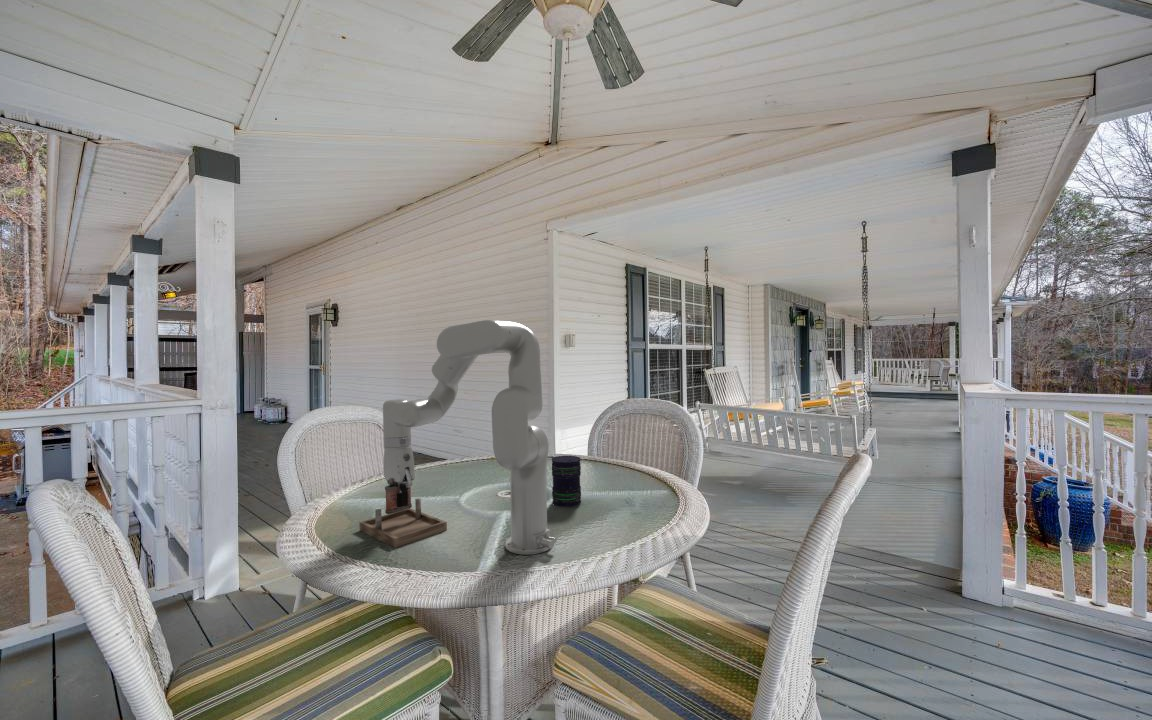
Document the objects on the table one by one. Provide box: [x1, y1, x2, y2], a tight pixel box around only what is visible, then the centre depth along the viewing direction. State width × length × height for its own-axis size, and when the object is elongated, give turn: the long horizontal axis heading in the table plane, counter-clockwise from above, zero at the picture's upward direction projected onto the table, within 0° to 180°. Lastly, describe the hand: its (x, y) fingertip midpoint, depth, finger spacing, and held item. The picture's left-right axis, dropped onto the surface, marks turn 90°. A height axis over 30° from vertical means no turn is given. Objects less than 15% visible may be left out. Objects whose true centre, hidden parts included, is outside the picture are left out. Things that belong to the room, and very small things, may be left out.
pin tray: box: [359, 497, 448, 549], centre depth 141 cm, size 20×16×7 cm
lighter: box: [384, 479, 412, 515], centre depth 143 cm, size 8×3×10 cm, turn 143°
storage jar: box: [551, 455, 582, 508], centre depth 164 cm, size 10×10×15 cm
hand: (398, 503), depth 143 cm, fingers closed on lighter, 3 cm apart
